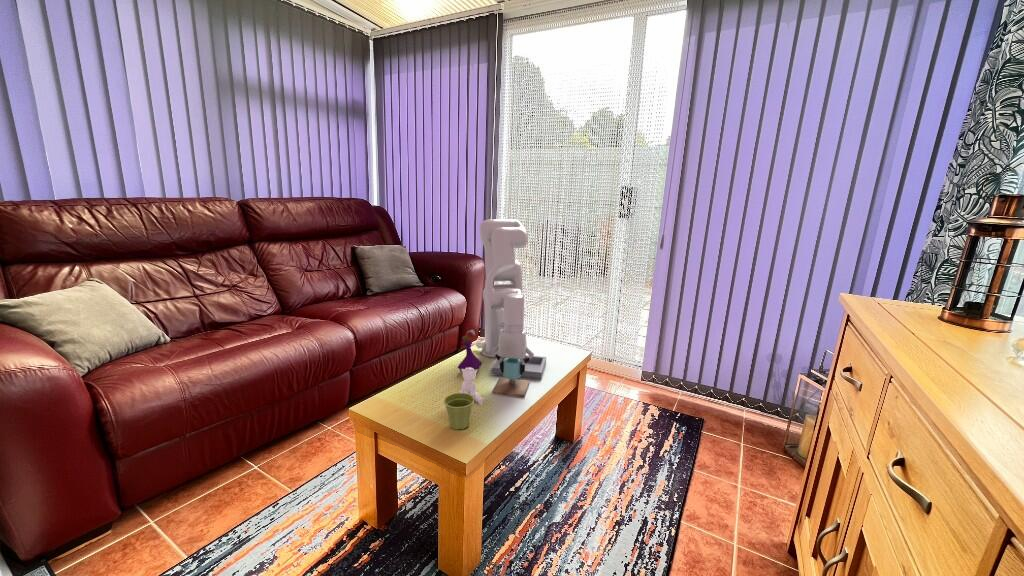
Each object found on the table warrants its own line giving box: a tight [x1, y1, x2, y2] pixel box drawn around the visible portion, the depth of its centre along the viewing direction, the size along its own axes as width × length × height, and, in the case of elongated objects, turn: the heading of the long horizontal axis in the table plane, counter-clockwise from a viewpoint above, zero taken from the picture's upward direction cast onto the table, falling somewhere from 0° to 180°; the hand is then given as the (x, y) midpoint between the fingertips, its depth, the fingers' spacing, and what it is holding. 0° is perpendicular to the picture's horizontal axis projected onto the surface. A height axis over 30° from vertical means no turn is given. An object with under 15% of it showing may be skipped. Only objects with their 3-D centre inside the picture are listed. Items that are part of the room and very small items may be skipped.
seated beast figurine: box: [459, 367, 484, 406], centre depth 145 cm, size 10×9×12 cm
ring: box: [503, 358, 521, 379], centre depth 156 cm, size 7×8×6 cm
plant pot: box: [443, 392, 475, 430], centre depth 129 cm, size 9×9×9 cm
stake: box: [491, 377, 531, 398], centre depth 154 cm, size 12×12×8 cm
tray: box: [491, 354, 547, 381], centre depth 172 cm, size 20×16×3 cm
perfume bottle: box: [457, 329, 483, 374], centre depth 166 cm, size 8×8×18 cm
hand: (512, 371), depth 156 cm, fingers closed on ring, 6 cm apart
